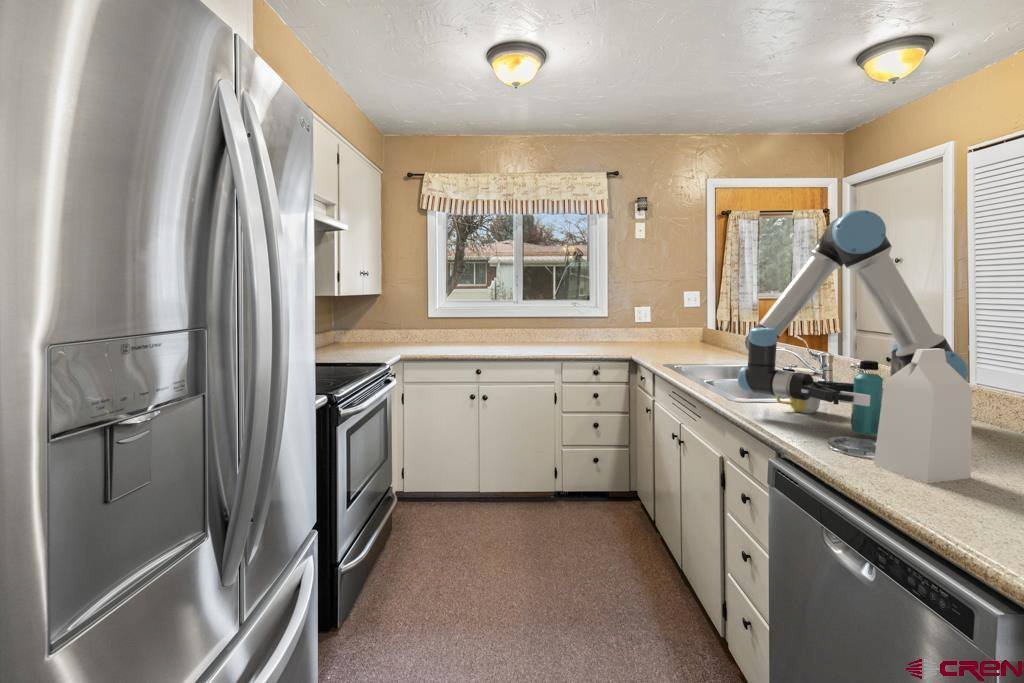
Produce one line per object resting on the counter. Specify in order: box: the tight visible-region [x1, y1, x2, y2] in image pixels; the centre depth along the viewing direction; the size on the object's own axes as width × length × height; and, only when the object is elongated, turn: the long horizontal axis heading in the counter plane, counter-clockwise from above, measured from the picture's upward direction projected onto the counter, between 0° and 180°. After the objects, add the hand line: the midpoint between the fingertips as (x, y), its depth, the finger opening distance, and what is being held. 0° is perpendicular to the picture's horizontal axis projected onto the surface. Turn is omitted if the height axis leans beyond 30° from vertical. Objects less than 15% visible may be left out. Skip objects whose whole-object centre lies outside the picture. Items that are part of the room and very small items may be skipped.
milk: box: [873, 348, 973, 484], centre depth 113 cm, size 12×12×26 cm
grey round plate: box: [826, 436, 877, 459], centre depth 129 cm, size 14×14×1 cm
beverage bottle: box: [850, 360, 884, 436], centre depth 139 cm, size 6×7×20 cm
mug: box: [775, 376, 826, 414], centre depth 170 cm, size 14×10×10 cm
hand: (880, 397), depth 137 cm, fingers open, 13 cm apart
